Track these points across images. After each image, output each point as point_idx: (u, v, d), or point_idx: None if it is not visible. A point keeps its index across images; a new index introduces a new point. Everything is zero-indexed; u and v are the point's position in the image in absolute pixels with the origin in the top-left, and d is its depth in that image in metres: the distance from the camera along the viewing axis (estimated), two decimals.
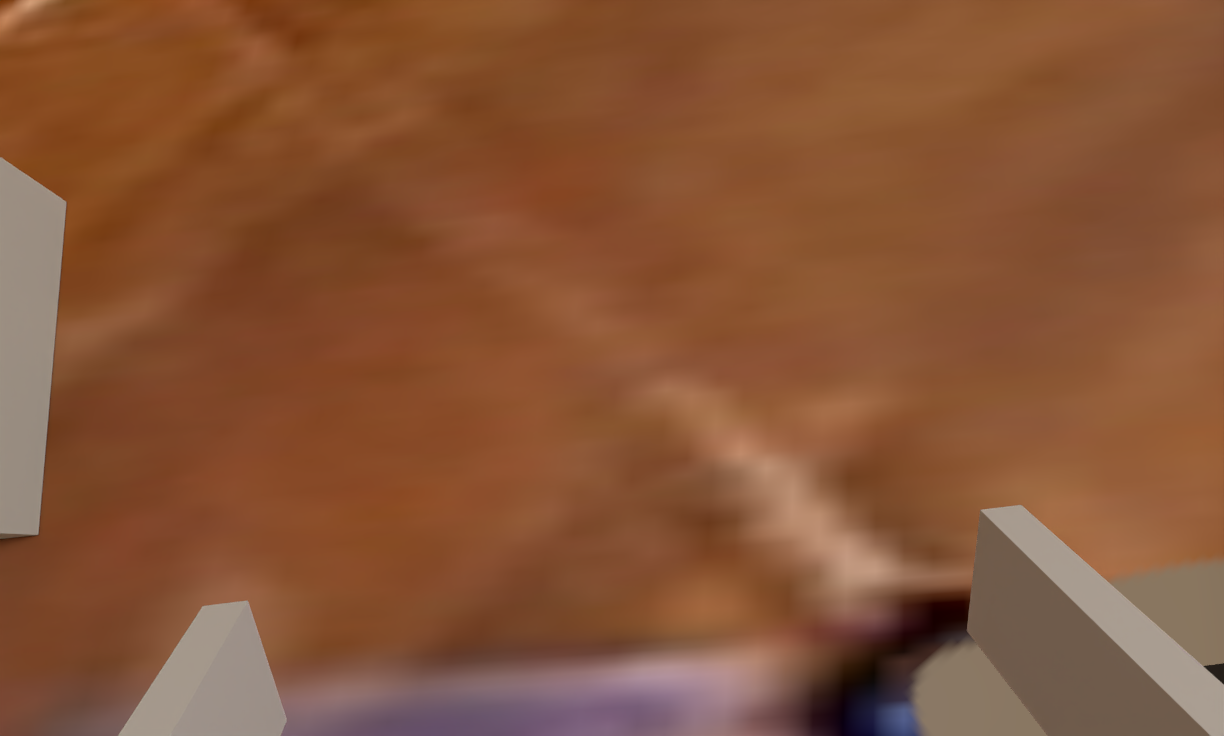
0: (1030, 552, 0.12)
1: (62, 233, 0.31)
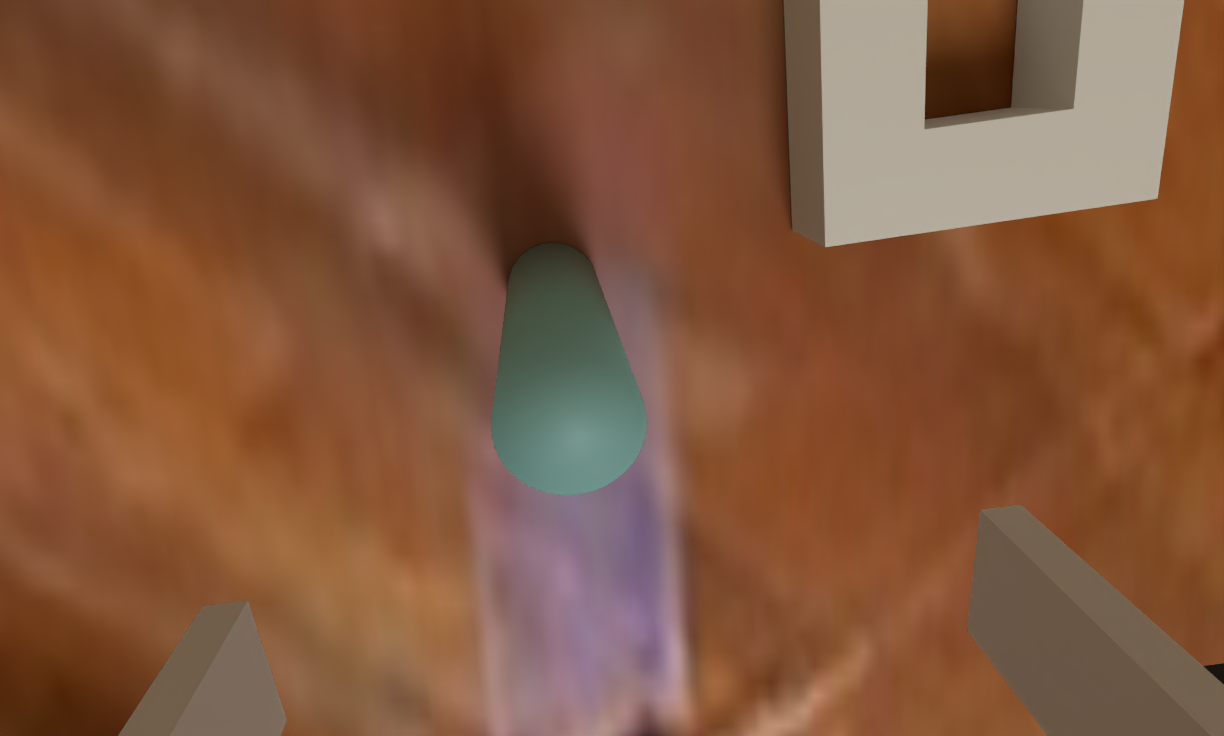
0: (1030, 552, 0.12)
1: None
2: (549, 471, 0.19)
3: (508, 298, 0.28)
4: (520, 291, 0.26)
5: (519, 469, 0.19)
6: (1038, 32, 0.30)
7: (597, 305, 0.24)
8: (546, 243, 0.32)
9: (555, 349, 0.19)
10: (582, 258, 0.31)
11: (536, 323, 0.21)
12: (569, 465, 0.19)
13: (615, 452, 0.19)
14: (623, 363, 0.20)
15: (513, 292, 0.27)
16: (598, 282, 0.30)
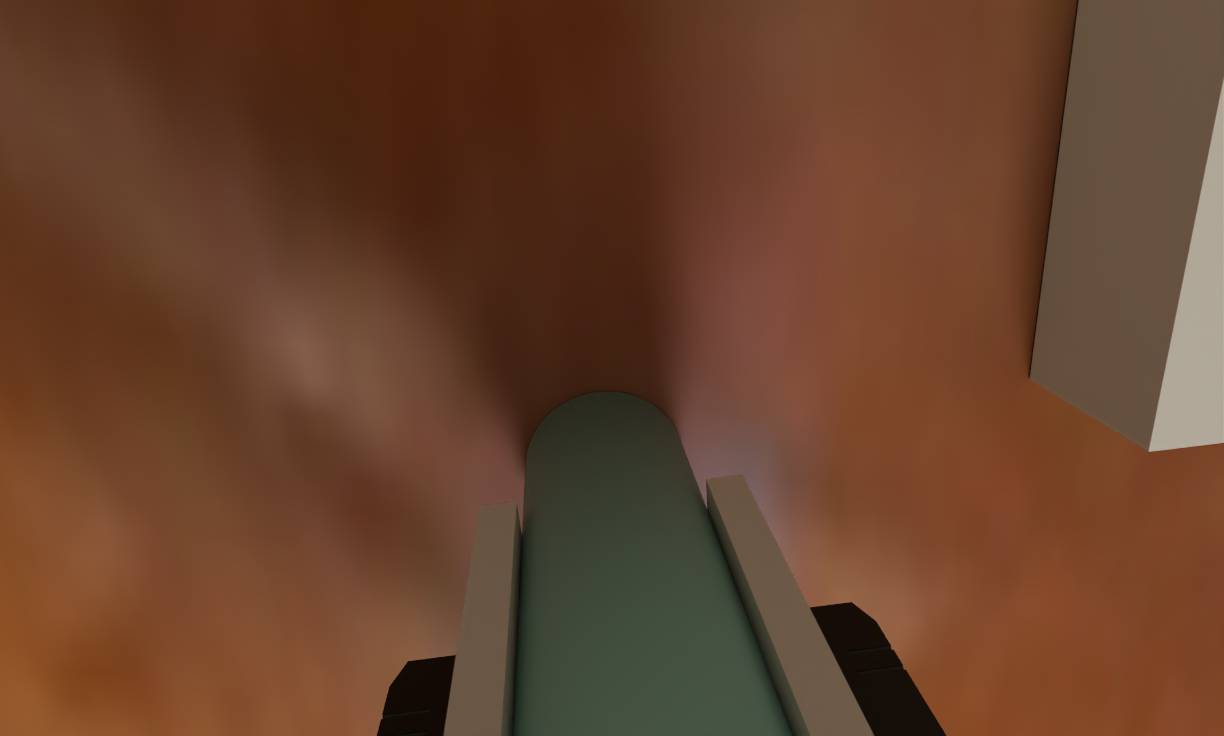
0: (725, 513, 0.14)
1: None
2: None
3: (529, 557, 0.13)
4: (558, 579, 0.12)
5: None
6: None
7: (752, 683, 0.10)
8: (598, 392, 0.18)
9: None
10: (666, 433, 0.17)
11: None
12: None
13: None
14: None
15: (541, 555, 0.13)
16: (701, 495, 0.16)
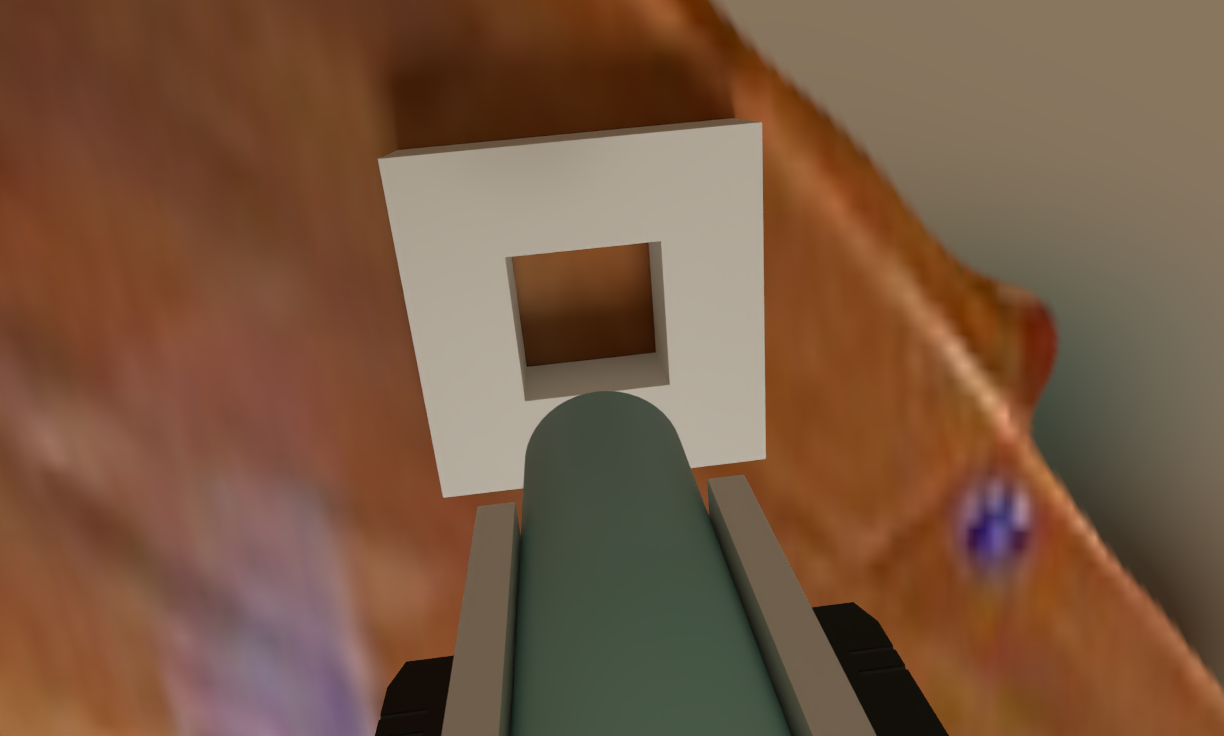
0: (726, 513, 0.14)
1: None
2: None
3: (528, 557, 0.13)
4: (557, 580, 0.12)
5: None
6: (656, 300, 0.32)
7: (751, 684, 0.10)
8: (597, 392, 0.18)
9: None
10: (665, 432, 0.17)
11: None
12: None
13: None
14: None
15: (539, 555, 0.13)
16: (700, 495, 0.16)
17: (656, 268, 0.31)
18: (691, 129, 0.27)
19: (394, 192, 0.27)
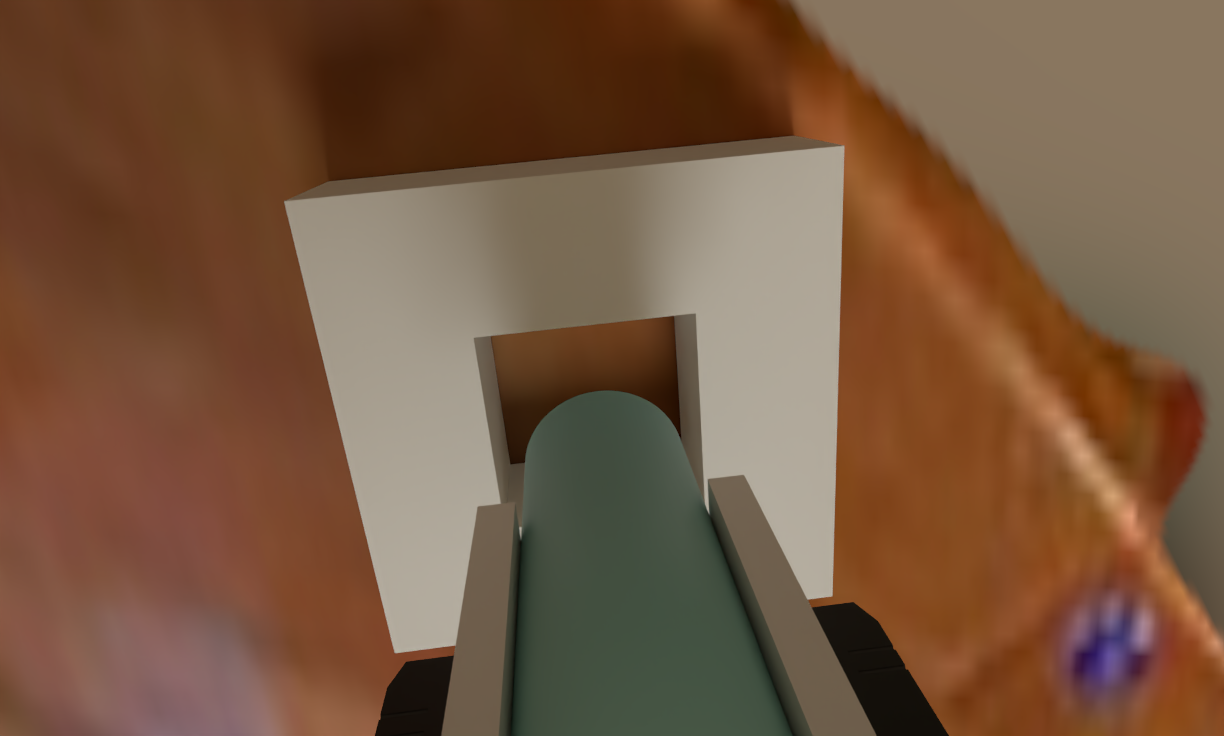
0: (726, 513, 0.14)
1: None
2: None
3: (528, 557, 0.13)
4: (557, 579, 0.12)
5: None
6: (685, 383, 0.23)
7: (752, 683, 0.10)
8: (597, 392, 0.18)
9: None
10: (666, 432, 0.17)
11: None
12: None
13: None
14: None
15: (540, 555, 0.13)
16: (701, 495, 0.16)
17: (686, 343, 0.22)
18: (742, 156, 0.19)
19: (310, 248, 0.19)
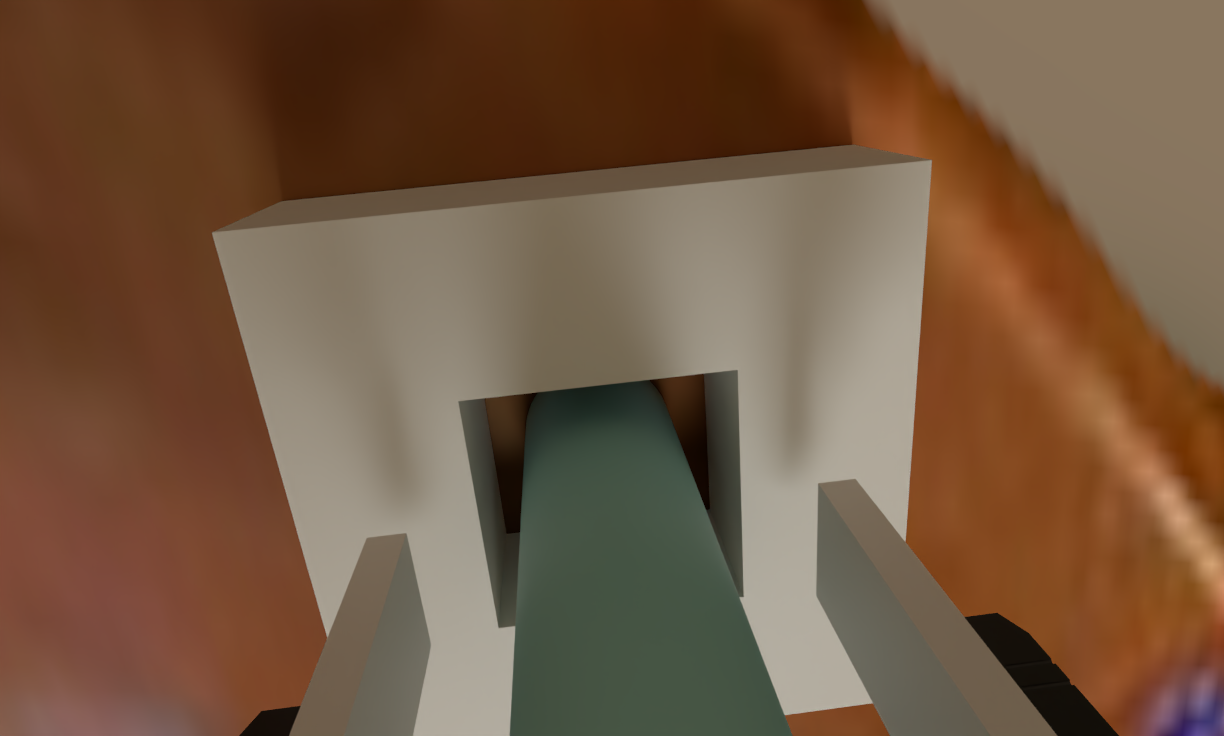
0: (848, 519, 0.13)
1: None
2: None
3: (529, 498, 0.15)
4: (554, 510, 0.14)
5: None
6: (717, 444, 0.19)
7: (717, 585, 0.12)
8: None
9: None
10: (652, 397, 0.19)
11: (606, 719, 0.09)
12: None
13: None
14: None
15: (539, 494, 0.15)
16: (682, 450, 0.18)
17: (721, 399, 0.18)
18: (801, 173, 0.15)
19: (248, 292, 0.14)
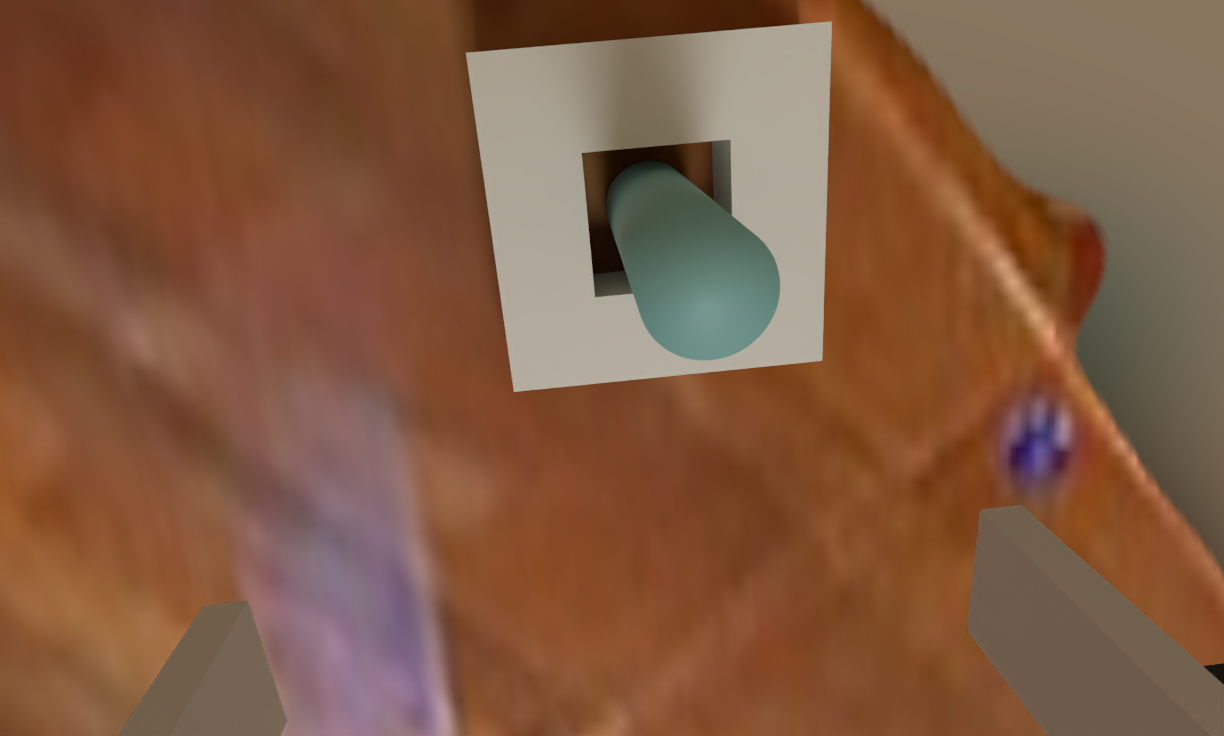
0: (1030, 552, 0.12)
1: None
2: (685, 336, 0.21)
3: (619, 202, 0.29)
4: (636, 191, 0.28)
5: (658, 332, 0.21)
6: None
7: None
8: (646, 160, 0.34)
9: (701, 219, 0.20)
10: None
11: (670, 206, 0.23)
12: (704, 330, 0.21)
13: (747, 321, 0.21)
14: None
15: (625, 195, 0.29)
16: None
17: (722, 172, 0.32)
18: (763, 28, 0.28)
19: (480, 86, 0.28)
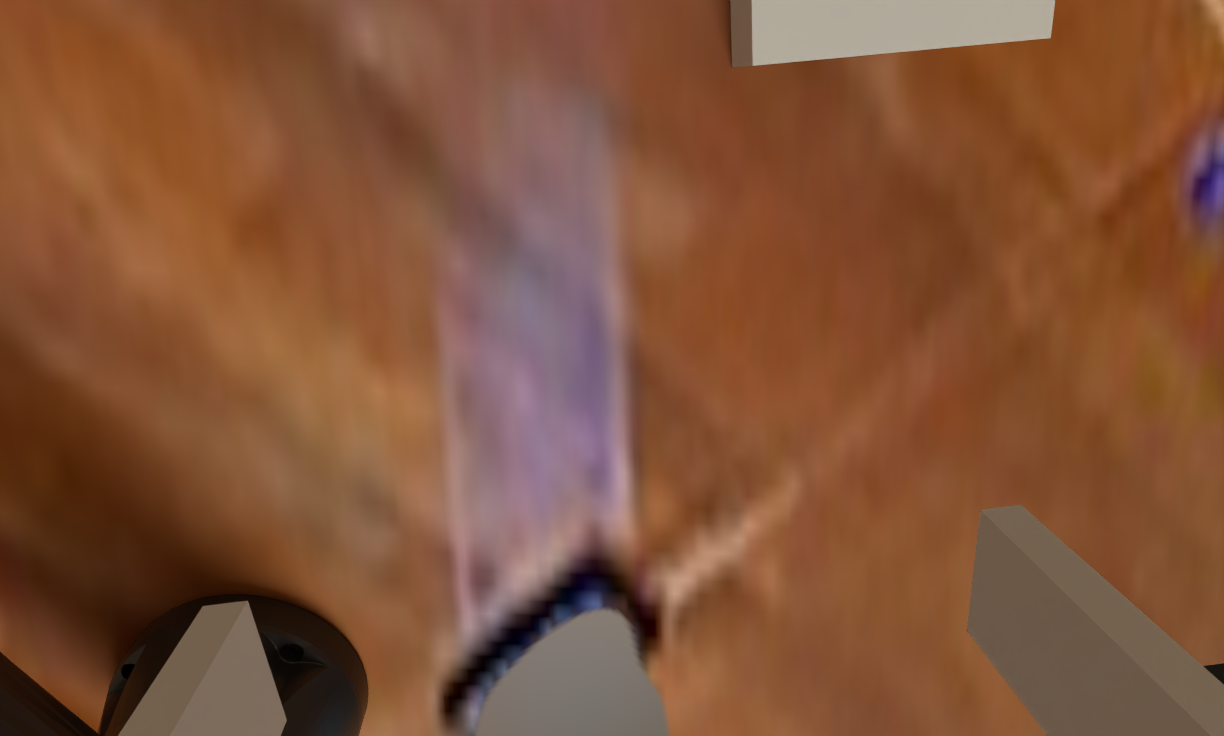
0: (1030, 552, 0.12)
1: None
2: None
3: None
4: None
5: None
6: None
7: None
8: None
9: None
10: None
11: None
12: None
13: None
14: None
15: None
16: None
17: None
18: None
19: None
